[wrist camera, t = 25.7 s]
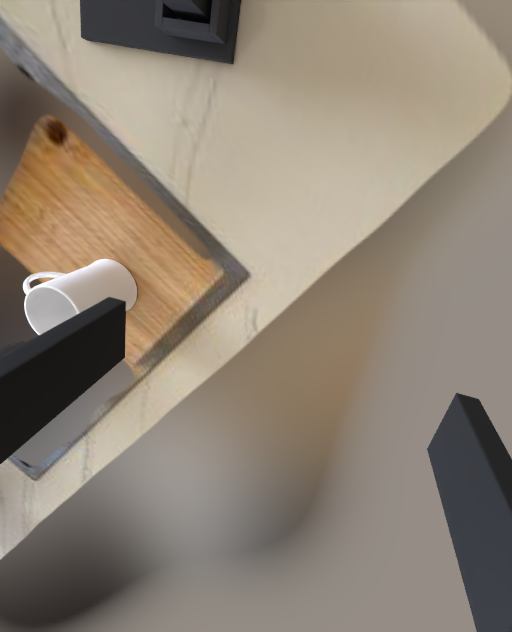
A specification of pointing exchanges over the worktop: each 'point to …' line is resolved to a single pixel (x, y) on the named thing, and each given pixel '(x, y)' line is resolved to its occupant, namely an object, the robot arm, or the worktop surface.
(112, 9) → the base pad
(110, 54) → the worktop surface
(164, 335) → the worktop surface
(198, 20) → the black orange-striped block
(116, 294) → the mug
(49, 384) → the robot arm
